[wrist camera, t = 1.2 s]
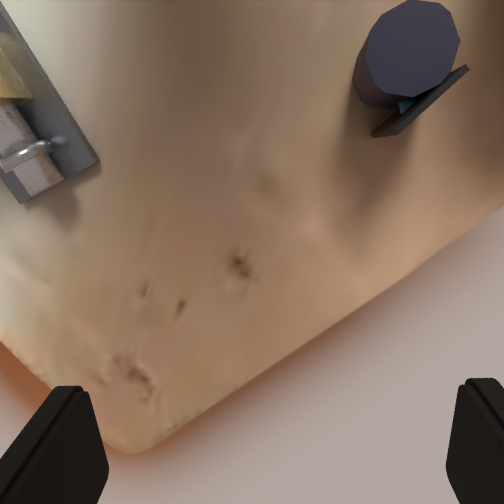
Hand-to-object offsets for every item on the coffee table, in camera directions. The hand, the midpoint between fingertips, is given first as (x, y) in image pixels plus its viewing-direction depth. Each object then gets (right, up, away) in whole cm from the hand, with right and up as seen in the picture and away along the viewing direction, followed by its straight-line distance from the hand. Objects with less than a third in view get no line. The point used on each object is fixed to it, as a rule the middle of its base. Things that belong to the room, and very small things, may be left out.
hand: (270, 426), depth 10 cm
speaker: (+10, +19, +23) cm, 31 cm away
